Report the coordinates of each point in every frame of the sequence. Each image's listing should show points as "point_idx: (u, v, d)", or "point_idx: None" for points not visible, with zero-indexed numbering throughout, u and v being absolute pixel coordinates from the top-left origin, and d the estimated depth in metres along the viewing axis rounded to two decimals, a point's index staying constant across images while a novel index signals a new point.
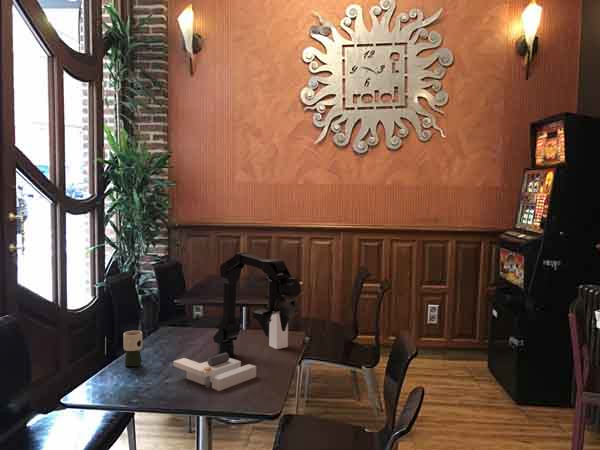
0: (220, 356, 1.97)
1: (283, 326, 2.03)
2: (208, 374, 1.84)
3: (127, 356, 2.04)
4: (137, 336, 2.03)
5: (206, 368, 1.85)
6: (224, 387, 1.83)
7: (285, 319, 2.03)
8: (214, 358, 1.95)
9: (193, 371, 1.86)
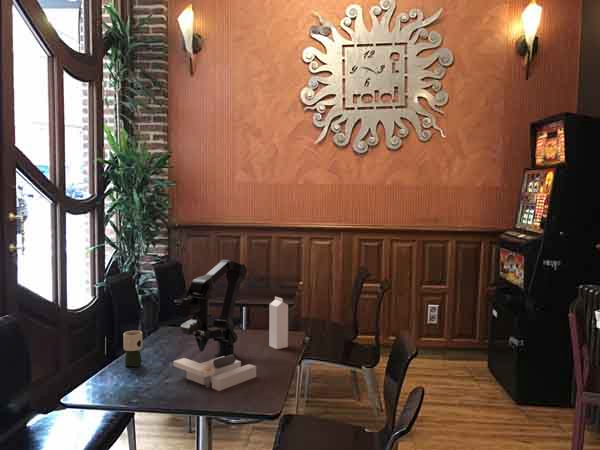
0: None
1: None
2: (208, 374, 1.84)
3: (127, 356, 2.04)
4: (137, 336, 2.03)
5: (206, 368, 1.85)
6: (224, 387, 1.83)
7: None
8: None
9: (193, 371, 1.86)
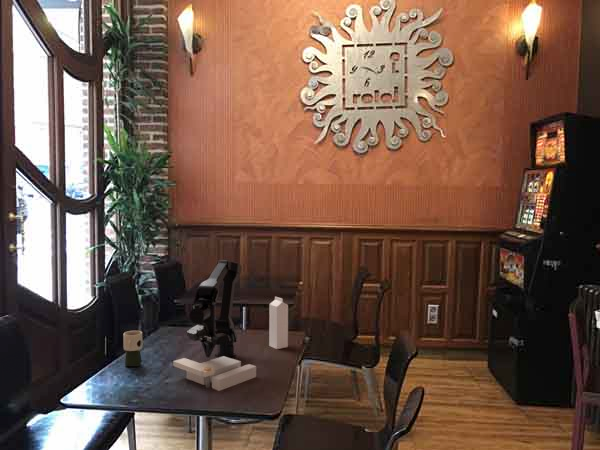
0: None
1: None
2: (208, 374, 1.84)
3: (127, 356, 2.04)
4: (137, 336, 2.03)
5: (206, 368, 1.85)
6: (224, 387, 1.83)
7: None
8: None
9: (193, 371, 1.86)
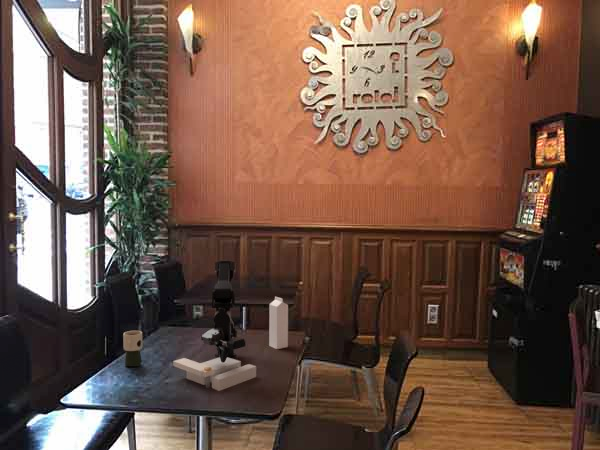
0: None
1: None
2: (208, 374, 1.84)
3: (127, 356, 2.04)
4: (137, 336, 2.03)
5: (206, 368, 1.85)
6: (224, 387, 1.83)
7: None
8: None
9: (193, 371, 1.86)
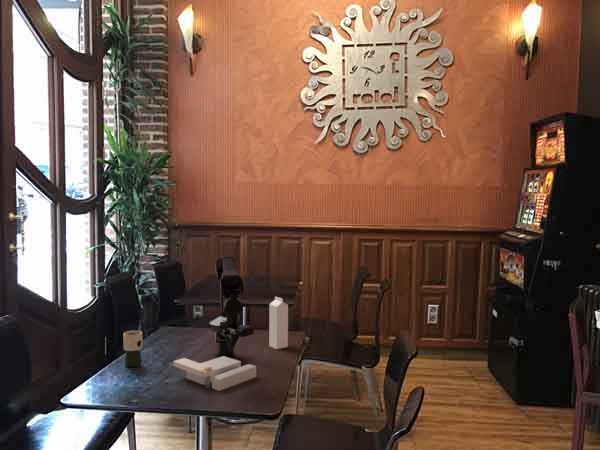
0: None
1: None
2: (208, 374, 1.84)
3: (127, 356, 2.04)
4: (137, 336, 2.03)
5: (206, 368, 1.85)
6: (224, 387, 1.83)
7: None
8: None
9: (193, 371, 1.86)
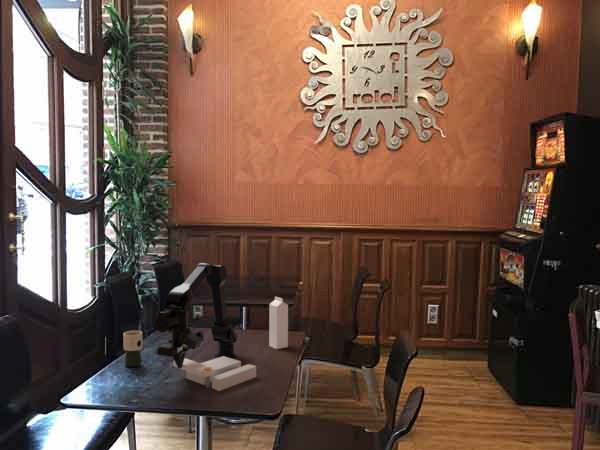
0: None
1: None
2: (208, 374, 1.84)
3: (127, 356, 2.04)
4: (137, 336, 2.03)
5: (206, 368, 1.85)
6: (224, 387, 1.83)
7: (182, 355, 1.89)
8: None
9: (193, 371, 1.86)
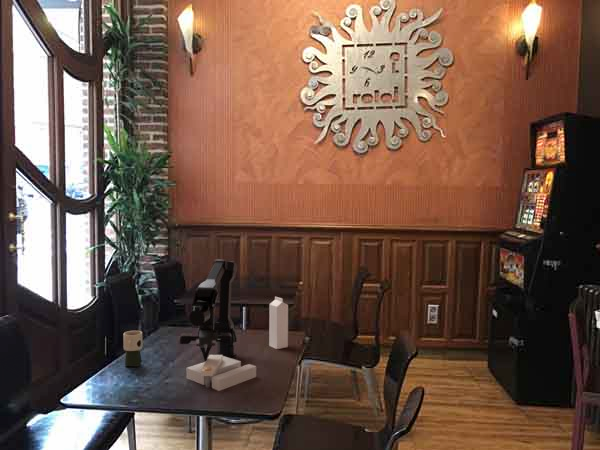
0: None
1: None
2: (204, 374, 1.84)
3: (127, 356, 2.04)
4: (137, 336, 2.03)
5: (206, 368, 1.85)
6: (224, 387, 1.83)
7: (206, 349, 1.95)
8: None
9: None
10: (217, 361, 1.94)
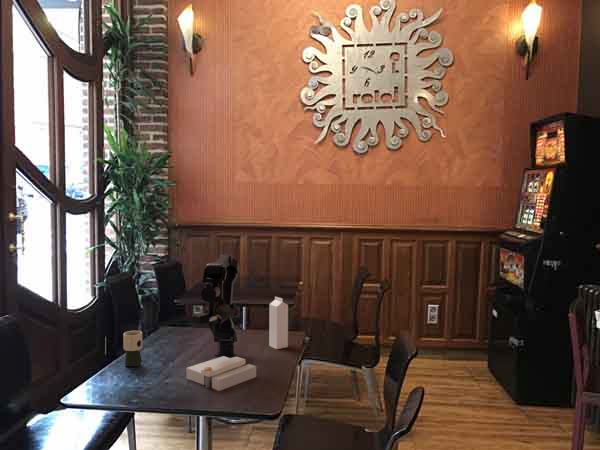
0: None
1: None
2: (203, 373, 1.85)
3: (127, 356, 2.04)
4: (137, 336, 2.03)
5: (206, 367, 1.85)
6: (224, 387, 1.83)
7: (217, 324, 2.01)
8: None
9: None
10: (229, 364, 1.91)
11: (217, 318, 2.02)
